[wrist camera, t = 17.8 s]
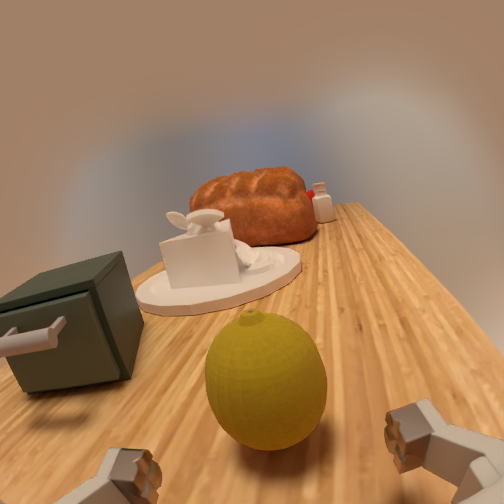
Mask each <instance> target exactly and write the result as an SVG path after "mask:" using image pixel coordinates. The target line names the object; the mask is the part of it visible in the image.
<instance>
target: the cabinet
mask: <svg viewBox="0 0 504 504" xmlns="http://www.w3.org/2000/svg"><path fill="white" fill-rule="evenodd" d="M87 289H88V290H89V292H90V294H91V297H92V300H93V303H94V306H95V309H96V312H97V315H98V317H99V320H100V323H101V325H102V328H103V331H104V333H105V336H106V338H107V341H108V343H109V346H110V348H111V351H112V353H113V355H114V358H115V360H116V362H117V365H118V367H119V369H120V375H119V379H116V380H110V381H104V382H98V383H92V384H86V385H80V386H73V387H66V388H58V389H50V390H42V391H33V392H27V393H28V394H29V393H39V392H47V391H56V390H63V389H71V388H78V387H84V386H91V385H97V384H103V383H109V382H115V381H120V380H126V379H131V375H132V371H133V366H134V362H135V357H136V353H137V349H138V345H139V341H140V336H141V332H142V328H143V324H144V321H143V318H142V315H141V312H140V309H139V306H138V303H137V300H136V297H135V294H134V290H133V287H132V284H131V281H130V277H129V274H128V270H127V267H126V263H125V260H124V257H123V253H122V251H118V252H114V253H111V254H107V255H103V256H100V257H96V258H92V259H88V260H85V261H81V262H78V263H75V264H71V265H67V266H64V267H60V268H56V269H53V270H50V271H46V272H43V273H39V274H38V275H36V276H35V277H33V278H31V279H30V280H28V281H27V282H25V283H24V284H22V285H20V286H19V287H17V288H16V289H14V290H13V291H11V292H9V293H8V294H7V295H5V296H3V297H2V298H1V299H0V314H2V313H6V312H7V310H9V309H12V308H16V307H20V306H24V305H28V304H32V303H36V302H40V301H44V300H48V299H52V298H55V297H59V296H63V295H67V294H71V293H75V292H79V291H83V290H87Z"/></svg>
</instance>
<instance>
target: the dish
mask: <svg viewBox="0 0 504 504" xmlns="http://www.w3.org/2000/svg"><path fill="white" fill-rule="evenodd" d="M166 216H167V218H168V219H169V221H170V222H171V223H172V224H173V225H174V226H175V227H178V228H180V229H185V230H187V233H186V234H183V235H180V236H177V237H174V238H172V239H169V240H166V241H163V242H160V243H159V245H160V249H161V253H162V257H163V261H164V265H165V268H166V270H164V271H162V272H160V273H158V274H156V275H154V276H152V277H150V278H149V279H148V280H146V281H145V282H144V283H143V284H141V285H140V286H139V287H138V289H137V291H136V294H135V297H136V300H137V303H138V305H139V306H140V307H141V308H142V310H143V311H144V312H148V313H152V314H156V315H161V316H186V315H198V314H203V313H208V312H214V311H219V310H224V309H229V308H233V307H236V306H239V305H242V304H245V303H248V302H250V301H253V300H256V299H259V298H262V297H265V296H267V295H269V294H271V293H272V292H274V291H276V290H278V289H280V288H282V287H283V286H285V285H287V284H289V283H290V282H291V281H292V280H293V279H294V278H295V277H296V276H297V275H298V274H299V273H300V272H301V260H300V255H299V253H298V252H296V251H294V250H292V249H290V248H281V247H253V248H251V247H250V246H249V245H247V244H246V243H244V242H241V241H239V240H236V239H234V237H233V232H232V228H231V223H230V219H227V220H224V221H221V222H218V221H219V220H221V219H222V218H224V212H221V211H219V210H215V209H201V210H197V211H194V212H191V213H190V214H188V215H187V216H186V217H185V216H184V215H183V214H180V213H178V212H169V213H166ZM188 221H189V222H191V223H190V224H189V222H188Z"/></svg>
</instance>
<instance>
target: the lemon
mask: <svg viewBox="0 0 504 504" xmlns="http://www.w3.org/2000/svg"><path fill="white" fill-rule="evenodd" d="M205 381H206V391H207V396H208V400H209V403H210V406H211V408H212V411H213V413H214V415H215V417H216V419H217V420H218V422H219V424H220V425H221V427H222V428H223V429H224V430H225V431H226V432H227V433H228V434H229V435H230V436H231V437H232V438H234V439H235V440H236V441H237V442H239V443H241V444H243V445H246V446H248V447H250V448H254V449H259V450H264V451H272V450H280V449H285V448H288V447H290V446H293V445H295V444H297V443H299V442H300V441H302V440H303V439H305V438H306V437H307V436H308V435H309V434H310V433H311V432H312V431H313V430H314V429H315V427H316V426H317V425H318V423H319V421H320V419H321V416H322V414H323V412H324V409H325V406H326V398H327V377H326V372H325V368H324V365H323V362H322V359H321V357H320V354H319V352H318V350H317V347H316V345H315V343H314V342H313V340H312V339H311V337H310V336H309V334H308V333H307V332H306V331H305V330H304V329H303V328H302V327H300V326H299V325H298V324H297V323H295V322H294V321H292V320H290V319H287V318H285V317H283V316H280V315H277V314H273V313H261V312H260V311H258V310H256V309H249V310H246V311H244V312H243V313H242V314H241V316H240V317H239V318H238V319H236V320H234V321H232V322H230V323H229V324H228V325H227V326H225V327H224V328H223V329H222V330H221V331H220V332H219V334H218V335H217V336H216V337H215V339H214V340H213V342H212V344H211V346H210V348H209V351H208V354H207V357H206V363H205Z"/></svg>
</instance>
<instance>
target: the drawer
mask: <svg viewBox="0 0 504 504" xmlns="http://www.w3.org/2000/svg"><path fill="white" fill-rule="evenodd" d="M1 357H6V359H7V361H8V364H9V366H10V368H11V370H12V372H13V374H14V376H15V377H16V379H17V381H18V383H19V385H20V387H21V389H22V390H23V392H33V391H42V390H50V389H58V388H66V387H73V386H80V385H86V384H92V383H98V382H104V381H110V380H116V379H119V375H120V369H119V367H118V365H117V362H116V360H115V358H114V355H113V353H112V351H111V348H110V346H109V343H108V341H107V338H106V336H105V333H104V331H103V328H102V325H101V323H100V320H99V317H98V315H97V312H96V309H95V306H94V303H93V300H92V297H91V294H90V292H89V290H88V289H87V290H83V291H79V292H75V293H71V294H67V295H63V296H59V297H55V298H52V299H48V300H44V301H40V302H36V303H32V304H28V305H24V306H20V307H16V308H12V309H9V310H7V312H6V313H2V314H0V358H1Z"/></svg>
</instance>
